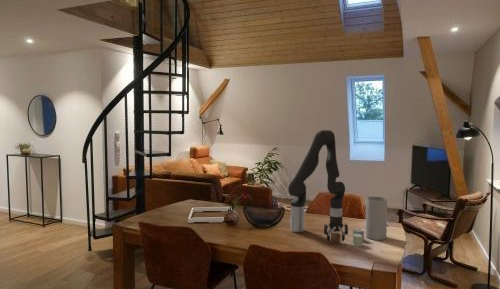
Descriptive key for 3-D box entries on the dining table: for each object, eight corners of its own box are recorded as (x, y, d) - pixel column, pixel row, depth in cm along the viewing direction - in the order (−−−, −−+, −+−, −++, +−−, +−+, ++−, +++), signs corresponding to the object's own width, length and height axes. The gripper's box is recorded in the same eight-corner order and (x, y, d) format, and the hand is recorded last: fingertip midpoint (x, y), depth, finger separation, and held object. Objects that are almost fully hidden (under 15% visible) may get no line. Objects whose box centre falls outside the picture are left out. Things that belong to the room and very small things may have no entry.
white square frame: (188, 222, 260) (188, 218, 260) (192, 211, 292) (192, 207, 292) (232, 221, 262) (232, 217, 262) (231, 210, 294) (231, 206, 294)
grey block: (357, 241, 219) (357, 232, 219) (353, 239, 223) (353, 229, 223) (363, 240, 220) (363, 231, 220) (359, 238, 225) (359, 229, 224)
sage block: (355, 246, 210) (355, 236, 210) (352, 244, 215) (352, 234, 214) (362, 246, 211) (362, 236, 210) (359, 243, 215) (359, 234, 215)
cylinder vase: (361, 236, 228) (362, 198, 226) (372, 232, 236) (373, 195, 234) (379, 241, 218) (379, 201, 216) (390, 237, 226) (391, 198, 224)
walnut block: (333, 244, 213) (333, 235, 213) (331, 242, 218) (331, 232, 217) (340, 244, 214) (340, 234, 213) (338, 242, 218) (338, 232, 218)
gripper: (326, 216, 210) (326, 243, 211) (349, 216, 211) (349, 242, 212) (322, 213, 218) (322, 239, 219) (345, 212, 219) (345, 238, 220)
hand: (335, 241), depth 216 cm, fingers open, 8 cm apart
